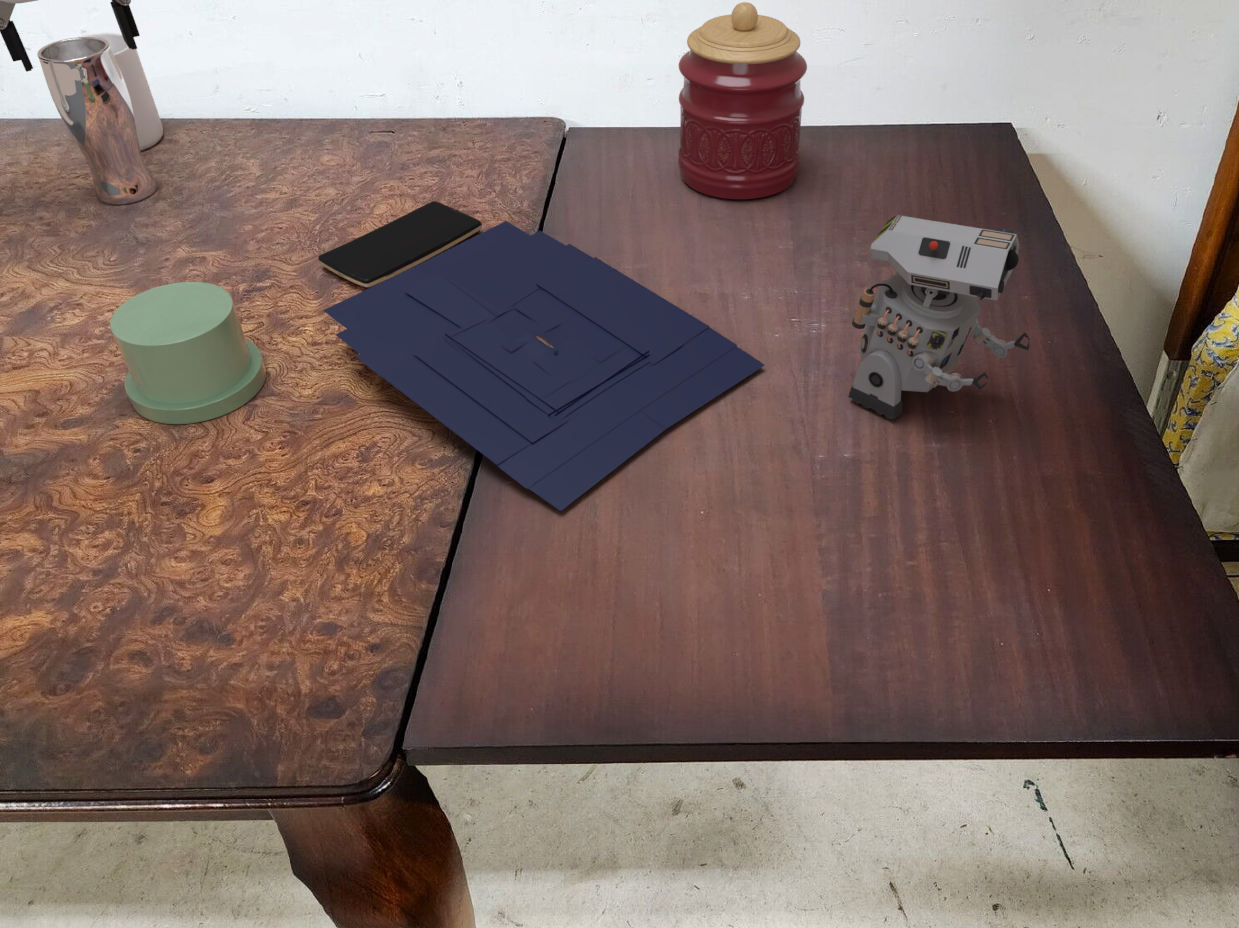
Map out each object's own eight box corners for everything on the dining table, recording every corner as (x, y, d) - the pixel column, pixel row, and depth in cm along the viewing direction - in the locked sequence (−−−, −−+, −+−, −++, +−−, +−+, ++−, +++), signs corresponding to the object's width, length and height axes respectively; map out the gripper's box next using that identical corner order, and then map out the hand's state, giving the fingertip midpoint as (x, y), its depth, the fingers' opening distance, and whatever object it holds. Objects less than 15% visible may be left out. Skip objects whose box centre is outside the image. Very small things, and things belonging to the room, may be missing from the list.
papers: (521, 238, 103) (520, 204, 100) (762, 388, 91) (769, 355, 88) (309, 345, 90) (301, 310, 87) (557, 538, 77) (557, 504, 75)
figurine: (955, 454, 80) (996, 281, 70) (832, 394, 86) (852, 225, 76) (1015, 400, 85) (1061, 230, 75) (894, 346, 91) (921, 181, 81)
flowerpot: (119, 432, 84) (85, 358, 79) (142, 355, 91) (112, 284, 87) (261, 415, 85) (236, 341, 80) (271, 340, 93) (249, 269, 88)
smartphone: (314, 256, 101) (434, 199, 109) (317, 267, 102) (436, 209, 110) (363, 282, 97) (484, 220, 106) (366, 293, 98) (485, 231, 106)
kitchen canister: (733, 138, 122) (739, -27, 110) (822, 173, 115) (839, 1, 103) (653, 176, 115) (650, 4, 103) (744, 214, 109) (751, 36, 97)
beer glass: (92, 184, 115) (34, 42, 105) (159, 172, 117) (109, 31, 107) (93, 212, 111) (34, 66, 100) (164, 199, 113) (112, 54, 102)
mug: (89, 175, 117) (50, 77, 110) (85, 133, 125) (48, 39, 118) (171, 160, 120) (138, 63, 112) (162, 120, 128) (130, 27, 120)
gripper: (97, -166, 98) (162, 26, 110) (-112, -138, 92) (-20, 63, 104) (112, -151, 93) (178, 48, 105) (-108, -120, 87) (-11, 88, 99)
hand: (80, 55), depth 104 cm, fingers open, 9 cm apart
